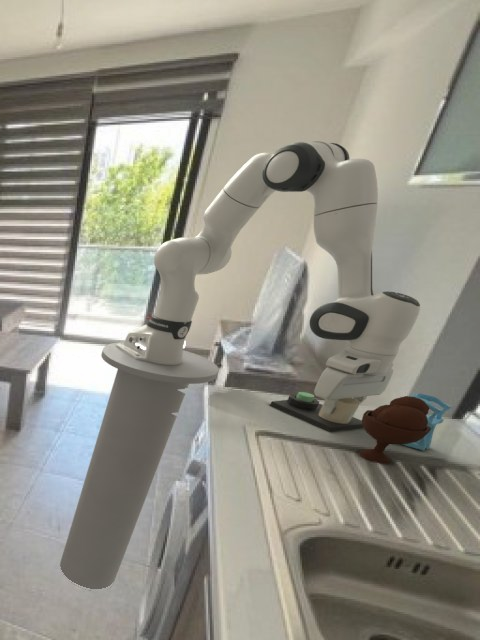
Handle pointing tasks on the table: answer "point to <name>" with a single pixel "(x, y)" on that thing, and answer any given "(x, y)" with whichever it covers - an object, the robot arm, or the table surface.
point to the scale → (312, 413)
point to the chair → (430, 420)
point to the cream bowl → (341, 411)
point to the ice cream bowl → (395, 425)
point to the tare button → (305, 396)
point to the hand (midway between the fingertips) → (338, 411)
